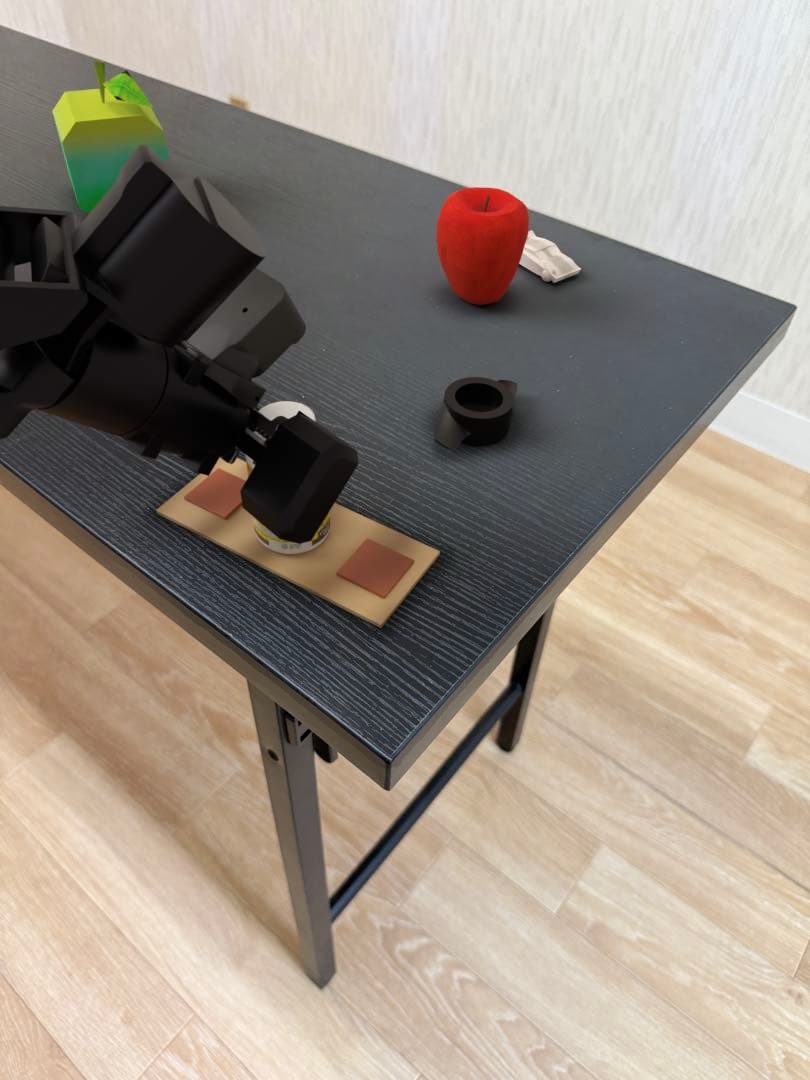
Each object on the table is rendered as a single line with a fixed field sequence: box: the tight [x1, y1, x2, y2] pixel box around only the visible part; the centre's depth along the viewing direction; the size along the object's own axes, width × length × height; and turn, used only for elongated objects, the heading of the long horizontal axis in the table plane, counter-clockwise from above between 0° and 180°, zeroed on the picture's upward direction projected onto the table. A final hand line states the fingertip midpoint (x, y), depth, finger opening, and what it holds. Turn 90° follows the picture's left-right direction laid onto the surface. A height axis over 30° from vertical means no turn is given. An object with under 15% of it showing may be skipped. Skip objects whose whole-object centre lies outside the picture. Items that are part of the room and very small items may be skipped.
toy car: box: [519, 229, 582, 284], centre depth 88 cm, size 5×8×2 cm, turn 38°
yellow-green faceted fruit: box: [52, 60, 170, 215], centre depth 92 cm, size 11×10×15 cm
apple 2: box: [435, 186, 530, 306], centre depth 80 cm, size 9×9×11 cm
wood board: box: [155, 457, 441, 629], centre depth 59 cm, size 20×8×1 cm, turn 59°
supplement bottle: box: [244, 400, 330, 554], centre depth 56 cm, size 6×6×10 cm
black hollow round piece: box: [433, 376, 518, 452], centre depth 68 cm, size 8×10×3 cm
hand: (303, 453), depth 55 cm, fingers closed on supplement bottle, 5 cm apart
